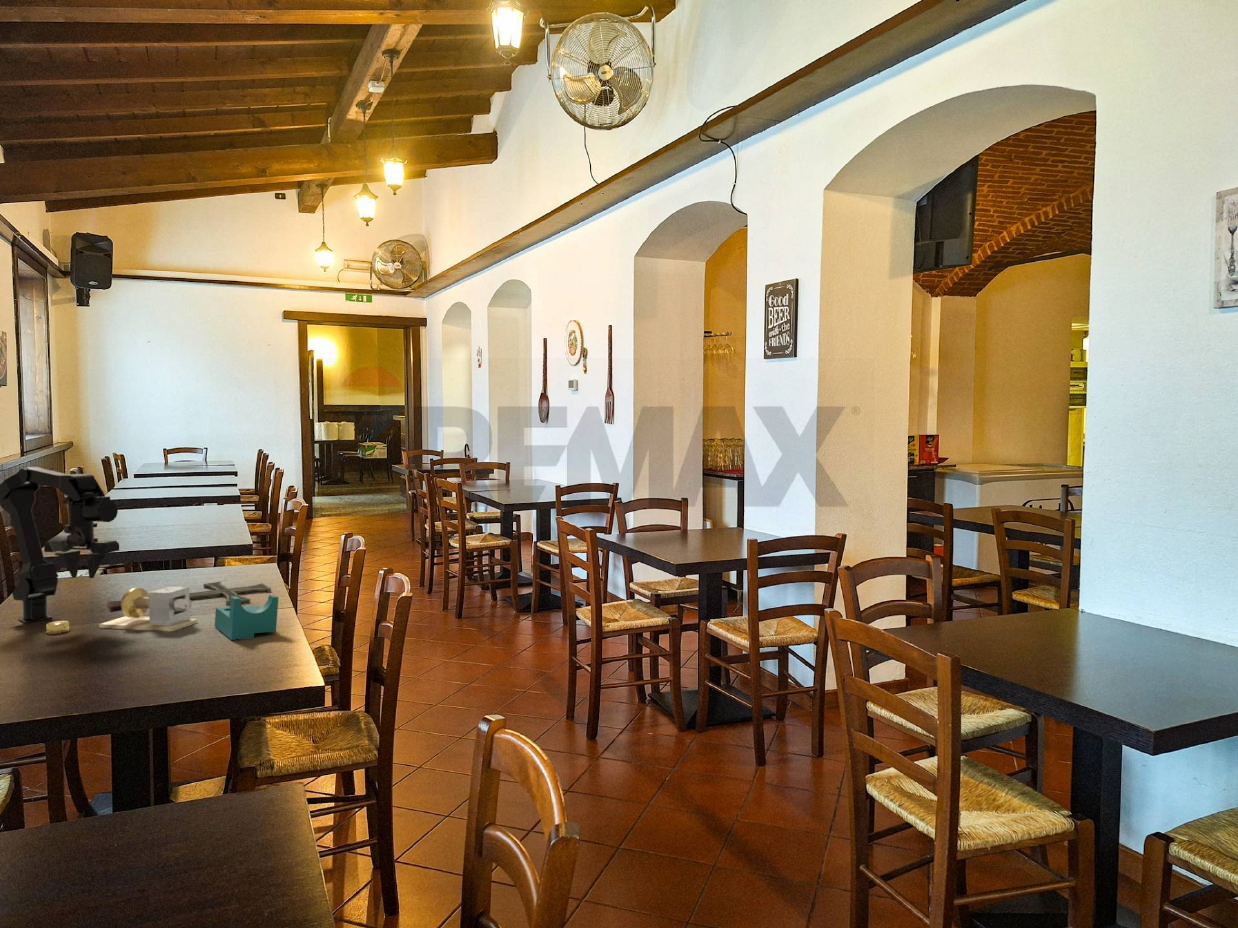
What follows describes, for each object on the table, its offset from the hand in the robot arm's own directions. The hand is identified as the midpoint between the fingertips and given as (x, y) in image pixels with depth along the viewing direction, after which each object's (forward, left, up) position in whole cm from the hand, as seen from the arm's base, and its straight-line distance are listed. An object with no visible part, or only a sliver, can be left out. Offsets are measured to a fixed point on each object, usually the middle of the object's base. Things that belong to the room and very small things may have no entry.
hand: (82, 577), depth 228 cm
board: (+14, +11, -13) cm, 22 cm away
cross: (-11, +34, -14) cm, 38 cm away
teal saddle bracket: (+40, +24, -13) cm, 48 cm away
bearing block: (+19, +14, -12) cm, 27 cm away
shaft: (+17, +13, -11) cm, 24 cm away
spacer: (+2, -7, -13) cm, 15 cm away
